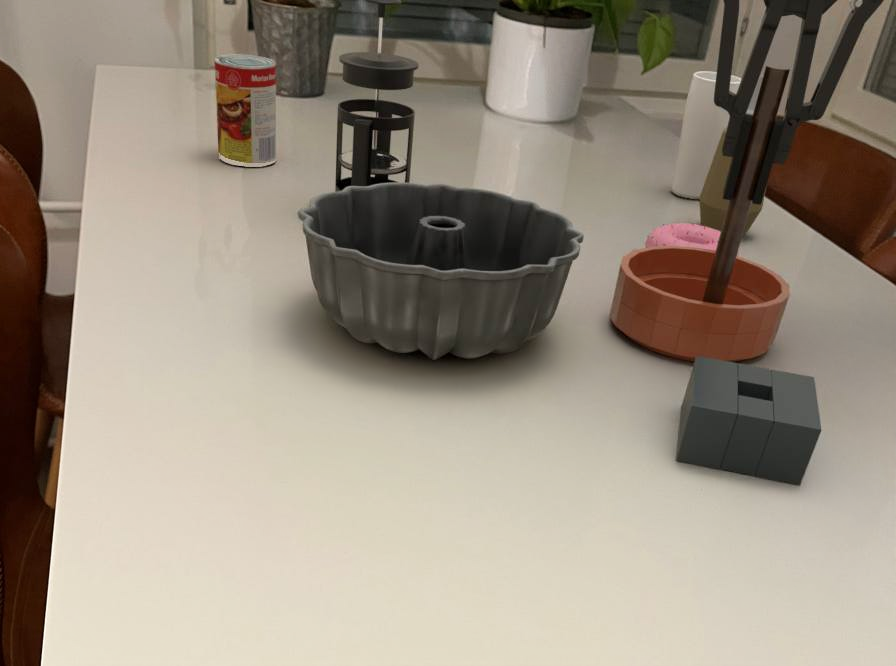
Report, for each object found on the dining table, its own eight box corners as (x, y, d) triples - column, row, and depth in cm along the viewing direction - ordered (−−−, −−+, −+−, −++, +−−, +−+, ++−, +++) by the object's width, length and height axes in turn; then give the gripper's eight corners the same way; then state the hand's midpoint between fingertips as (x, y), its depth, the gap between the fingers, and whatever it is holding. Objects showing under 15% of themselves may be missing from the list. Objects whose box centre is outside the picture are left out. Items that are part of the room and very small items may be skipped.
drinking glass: (662, 196, 139) (690, 76, 129) (668, 184, 144) (695, 68, 134) (710, 205, 138) (742, 85, 128) (714, 193, 143) (745, 76, 133)
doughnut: (745, 269, 118) (756, 233, 116) (714, 293, 111) (724, 256, 108) (661, 245, 122) (670, 210, 120) (625, 267, 115) (634, 231, 112)
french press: (346, 197, 126) (354, -16, 111) (417, 209, 125) (435, -5, 110) (318, 224, 117) (323, -3, 103) (394, 237, 116) (410, 9, 101)
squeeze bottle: (686, 218, 132) (725, 66, 120) (746, 224, 132) (790, 73, 121) (697, 238, 126) (739, 80, 114) (759, 245, 126) (807, 87, 114)
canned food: (239, 148, 140) (236, 51, 132) (287, 159, 137) (287, 61, 130) (206, 159, 134) (202, 59, 126) (255, 171, 132) (254, 69, 124)
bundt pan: (267, 282, 102) (266, 180, 96) (496, 270, 111) (509, 175, 104) (346, 397, 84) (351, 280, 78) (612, 372, 93) (637, 265, 86)
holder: (794, 429, 87) (814, 376, 83) (800, 485, 79) (821, 429, 76) (680, 408, 88) (696, 355, 85) (675, 460, 80) (691, 405, 77)
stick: (718, 316, 98) (789, 66, 84) (717, 324, 97) (790, 70, 83) (697, 313, 98) (765, 63, 84) (697, 320, 97) (766, 67, 83)
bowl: (768, 318, 107) (786, 262, 103) (772, 381, 94) (793, 320, 90) (616, 291, 109) (628, 235, 105) (600, 349, 96) (613, 288, 93)
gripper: (732, -136, 73) (657, 196, 88) (941, -114, 71) (828, 222, 86) (732, -138, 79) (662, 175, 94) (926, -117, 77) (822, 199, 92)
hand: (741, 197), depth 90 cm, fingers closed on stick, 2 cm apart
